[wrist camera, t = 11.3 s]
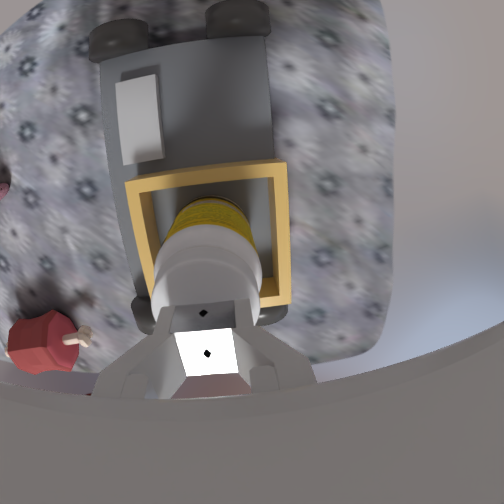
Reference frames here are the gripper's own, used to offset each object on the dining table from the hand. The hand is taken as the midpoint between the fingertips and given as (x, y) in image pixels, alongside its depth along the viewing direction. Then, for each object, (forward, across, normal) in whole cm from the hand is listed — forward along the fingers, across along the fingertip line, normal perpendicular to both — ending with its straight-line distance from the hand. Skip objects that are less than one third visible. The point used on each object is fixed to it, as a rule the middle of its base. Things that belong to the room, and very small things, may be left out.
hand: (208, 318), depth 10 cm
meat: (+10, +16, +8) cm, 21 cm away
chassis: (+10, +1, -4) cm, 11 cm away
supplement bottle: (+9, 0, 0) cm, 9 cm away
